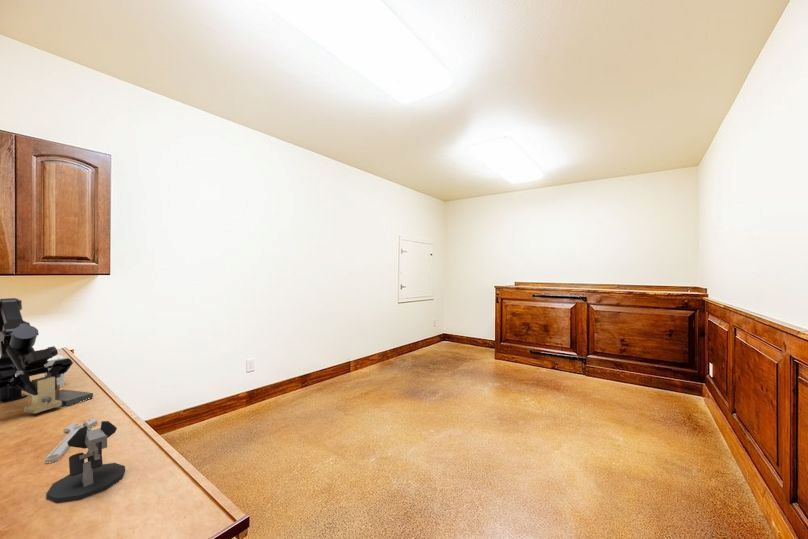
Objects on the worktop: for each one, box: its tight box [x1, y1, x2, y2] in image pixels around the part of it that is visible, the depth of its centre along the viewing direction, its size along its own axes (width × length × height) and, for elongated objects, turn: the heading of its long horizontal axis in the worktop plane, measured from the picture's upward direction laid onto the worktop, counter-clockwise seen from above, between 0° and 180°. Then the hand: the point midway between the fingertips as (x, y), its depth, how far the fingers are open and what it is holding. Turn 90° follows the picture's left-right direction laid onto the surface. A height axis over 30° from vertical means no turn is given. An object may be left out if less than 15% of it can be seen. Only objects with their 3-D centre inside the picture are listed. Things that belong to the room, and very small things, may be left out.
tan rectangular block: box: [23, 376, 62, 414], centre depth 113 cm, size 5×7×10 cm
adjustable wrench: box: [44, 417, 98, 464], centre depth 93 cm, size 25×6×2 cm, turn 24°
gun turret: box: [45, 420, 126, 504], centre depth 76 cm, size 13×20×13 cm, turn 50°
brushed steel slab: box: [55, 385, 94, 407], centre depth 123 cm, size 16×8×5 cm, turn 74°
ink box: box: [44, 354, 65, 387], centre depth 139 cm, size 9×5×12 cm, turn 52°
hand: (46, 392), depth 112 cm, fingers closed on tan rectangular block, 4 cm apart
